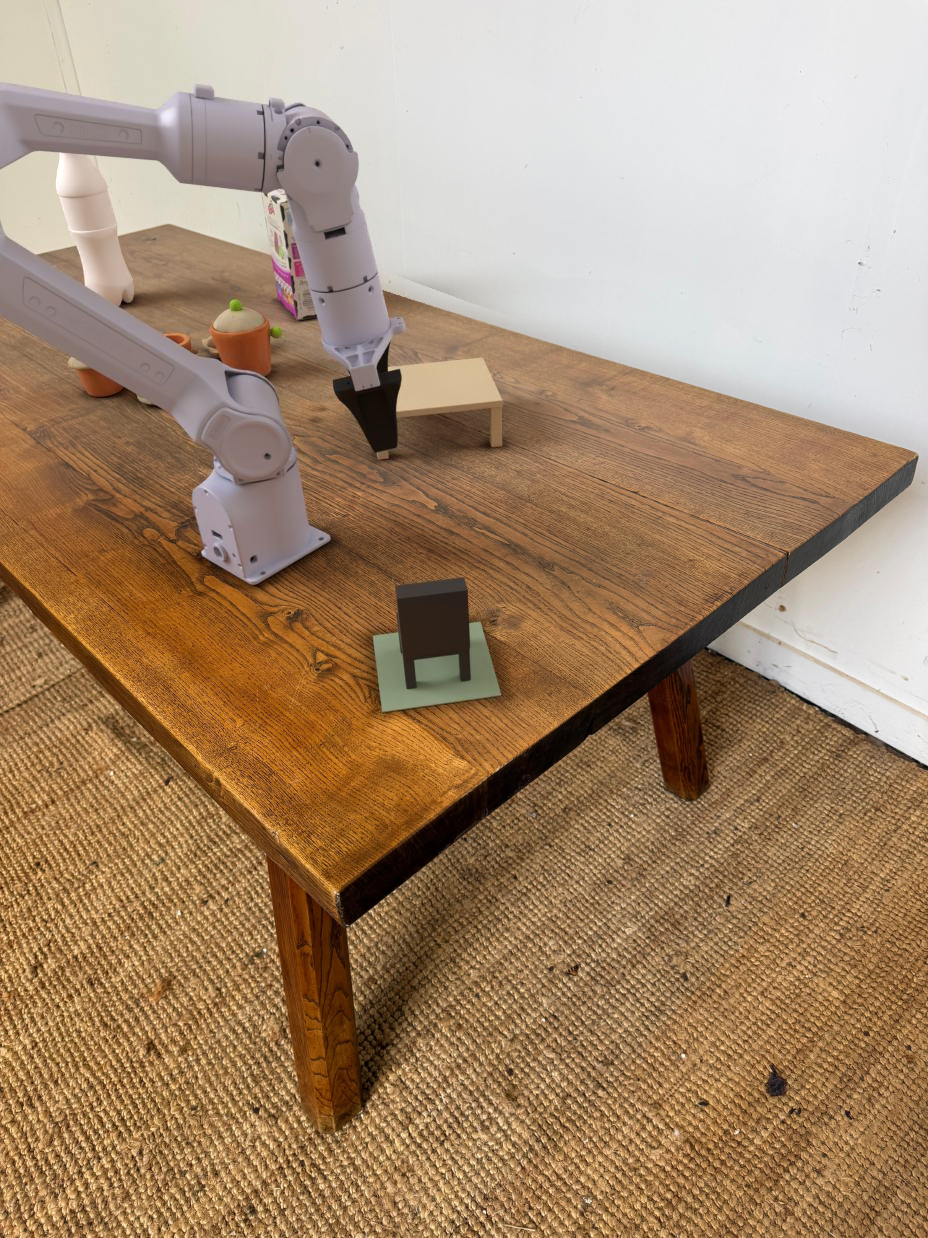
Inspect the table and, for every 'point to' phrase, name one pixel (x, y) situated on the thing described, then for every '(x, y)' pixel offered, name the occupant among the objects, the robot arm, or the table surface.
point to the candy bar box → (286, 257)
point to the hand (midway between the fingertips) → (382, 428)
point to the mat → (433, 675)
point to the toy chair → (433, 624)
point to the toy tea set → (233, 340)
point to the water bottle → (93, 227)
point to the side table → (449, 392)
